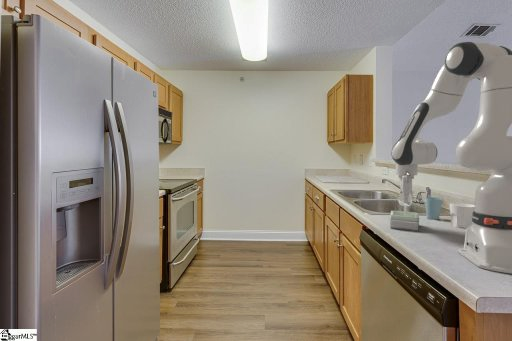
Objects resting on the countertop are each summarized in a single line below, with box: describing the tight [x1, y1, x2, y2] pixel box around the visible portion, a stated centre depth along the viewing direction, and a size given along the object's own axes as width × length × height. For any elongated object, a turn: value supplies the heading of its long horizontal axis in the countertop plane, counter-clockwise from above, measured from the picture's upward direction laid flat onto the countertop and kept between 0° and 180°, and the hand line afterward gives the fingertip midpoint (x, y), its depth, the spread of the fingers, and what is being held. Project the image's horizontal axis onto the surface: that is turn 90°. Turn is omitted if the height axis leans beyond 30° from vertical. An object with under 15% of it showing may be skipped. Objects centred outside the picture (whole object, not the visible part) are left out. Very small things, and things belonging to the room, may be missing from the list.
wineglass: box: [397, 191, 413, 216], centre depth 138 cm, size 6×6×12 cm
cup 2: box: [449, 202, 475, 229], centre depth 139 cm, size 10×10×10 cm
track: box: [389, 216, 420, 232], centre depth 141 cm, size 23×11×4 cm, turn 157°
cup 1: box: [424, 196, 443, 221], centre depth 155 cm, size 8×8×10 cm
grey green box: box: [390, 210, 420, 227], centre depth 138 cm, size 12×11×5 cm
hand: (405, 201), depth 138 cm, fingers open, 8 cm apart
